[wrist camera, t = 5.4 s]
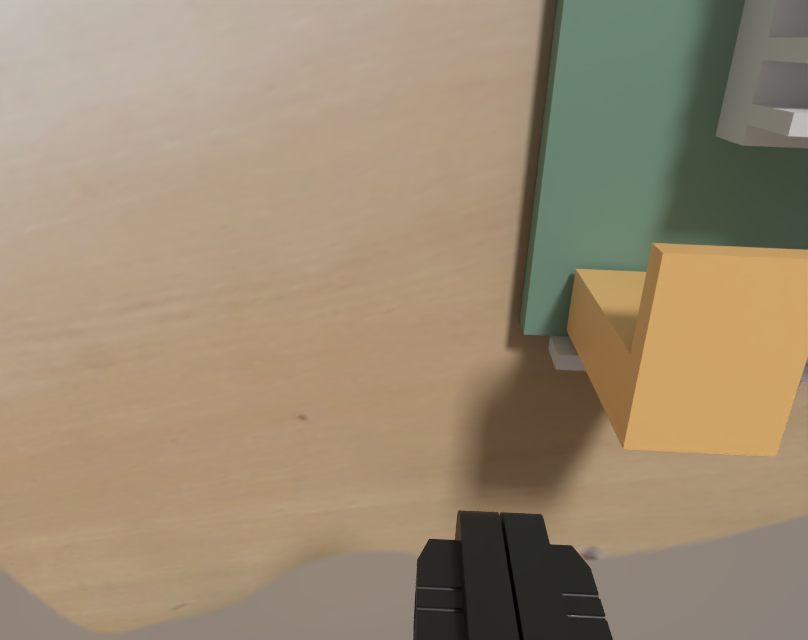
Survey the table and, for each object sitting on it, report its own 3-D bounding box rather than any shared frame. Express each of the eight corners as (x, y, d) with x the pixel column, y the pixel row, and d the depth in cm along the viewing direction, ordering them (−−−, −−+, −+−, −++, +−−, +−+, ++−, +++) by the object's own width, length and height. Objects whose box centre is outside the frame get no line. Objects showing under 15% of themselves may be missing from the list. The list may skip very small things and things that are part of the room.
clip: (707, 189, 22) (838, 260, 15) (675, 335, 24) (776, 456, 17) (588, 184, 22) (663, 252, 15) (566, 329, 24) (622, 449, 17)
